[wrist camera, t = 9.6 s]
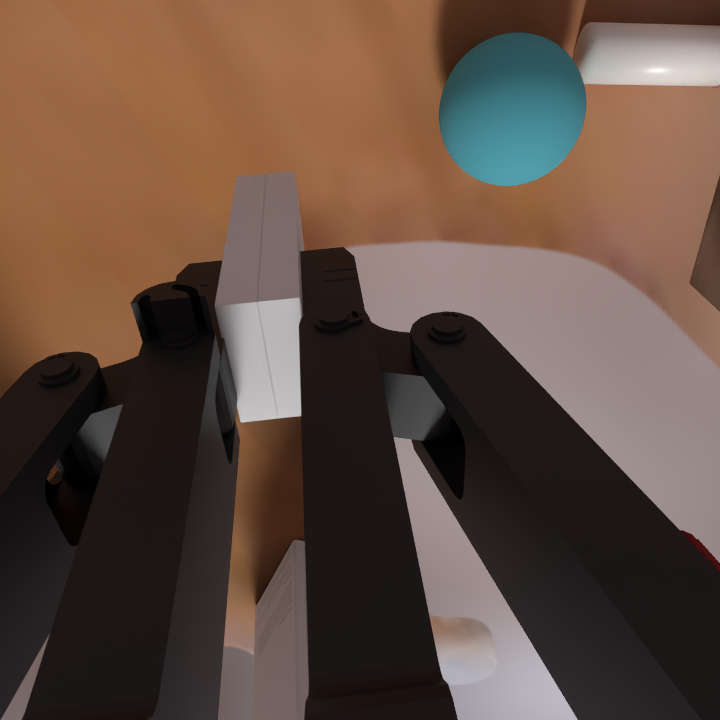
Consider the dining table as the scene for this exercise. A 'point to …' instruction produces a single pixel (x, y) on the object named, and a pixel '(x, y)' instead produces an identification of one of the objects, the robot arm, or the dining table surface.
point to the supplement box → (282, 642)
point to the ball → (512, 109)
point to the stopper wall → (709, 257)
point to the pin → (649, 54)
